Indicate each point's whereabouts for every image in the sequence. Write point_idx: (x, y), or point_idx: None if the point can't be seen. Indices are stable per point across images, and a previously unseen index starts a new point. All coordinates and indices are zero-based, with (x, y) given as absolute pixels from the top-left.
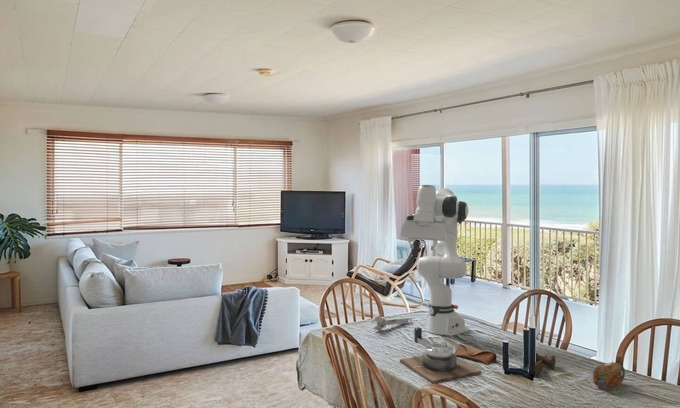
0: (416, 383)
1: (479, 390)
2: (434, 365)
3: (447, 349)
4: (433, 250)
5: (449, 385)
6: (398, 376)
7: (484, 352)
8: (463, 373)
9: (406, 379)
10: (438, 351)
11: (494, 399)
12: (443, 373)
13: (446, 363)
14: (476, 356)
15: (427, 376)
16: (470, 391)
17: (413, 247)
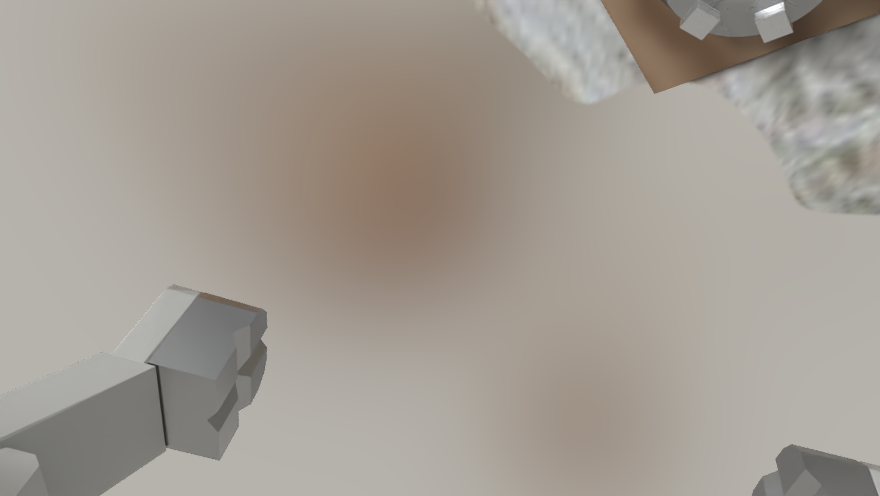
0: (585, 85)
1: (852, 138)
2: None
3: (781, 30)
4: (852, 464)
5: (730, 99)
6: (509, 26)
7: None
8: (852, 12)
9: (545, 52)
10: (722, 17)
11: (874, 197)
12: None
13: None
14: None
15: (641, 52)
16: (804, 145)
17: (249, 337)
